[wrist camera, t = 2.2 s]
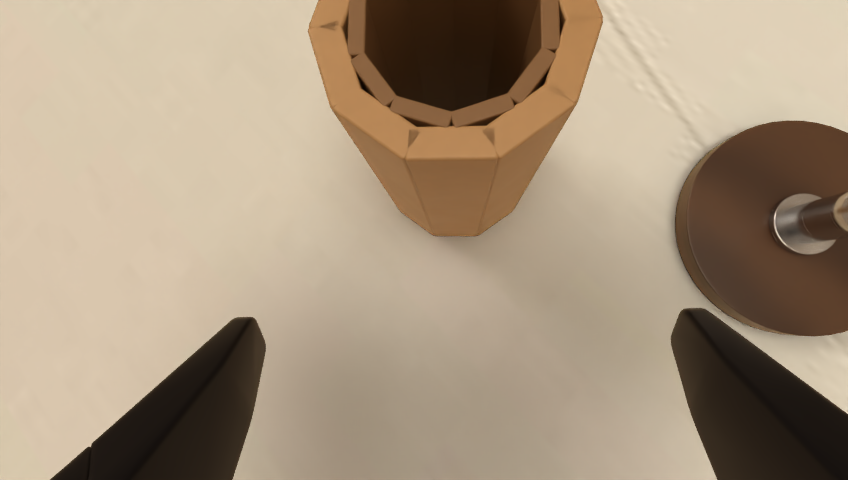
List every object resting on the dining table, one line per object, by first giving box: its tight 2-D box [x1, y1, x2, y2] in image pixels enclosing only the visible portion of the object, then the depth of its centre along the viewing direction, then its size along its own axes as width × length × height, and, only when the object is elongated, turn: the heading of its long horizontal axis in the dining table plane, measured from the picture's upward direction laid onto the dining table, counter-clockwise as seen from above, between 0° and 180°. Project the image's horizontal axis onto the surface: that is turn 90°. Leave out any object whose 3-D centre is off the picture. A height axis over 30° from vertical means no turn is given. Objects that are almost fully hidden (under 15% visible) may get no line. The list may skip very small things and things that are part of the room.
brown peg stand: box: [675, 121, 848, 336], centre depth 20 cm, size 10×10×5 cm
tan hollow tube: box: [308, 0, 603, 236], centre depth 18 cm, size 7×7×13 cm
